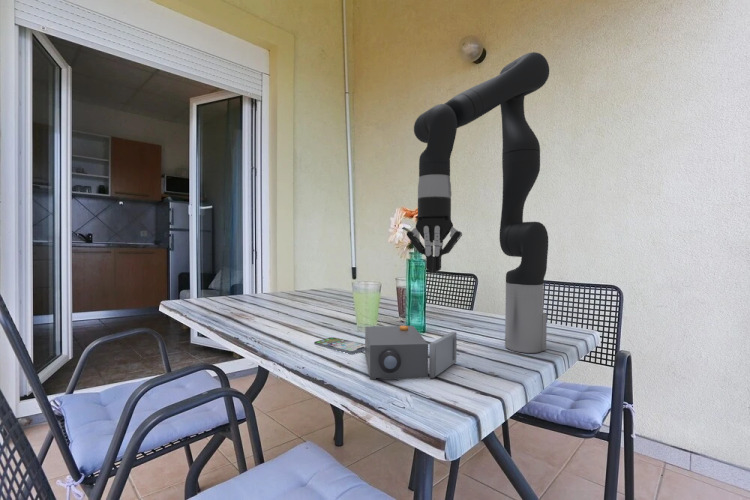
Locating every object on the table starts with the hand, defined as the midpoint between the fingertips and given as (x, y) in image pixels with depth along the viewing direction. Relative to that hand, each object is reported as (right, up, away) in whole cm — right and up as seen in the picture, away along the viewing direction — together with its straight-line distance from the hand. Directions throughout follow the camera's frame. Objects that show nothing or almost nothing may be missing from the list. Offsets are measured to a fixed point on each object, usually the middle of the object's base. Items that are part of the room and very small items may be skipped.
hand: (433, 272), depth 83 cm
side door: (+2, -21, -4) cm, 21 cm away
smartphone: (-23, -21, +14) cm, 34 cm away
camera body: (-9, -21, -1) cm, 23 cm away
